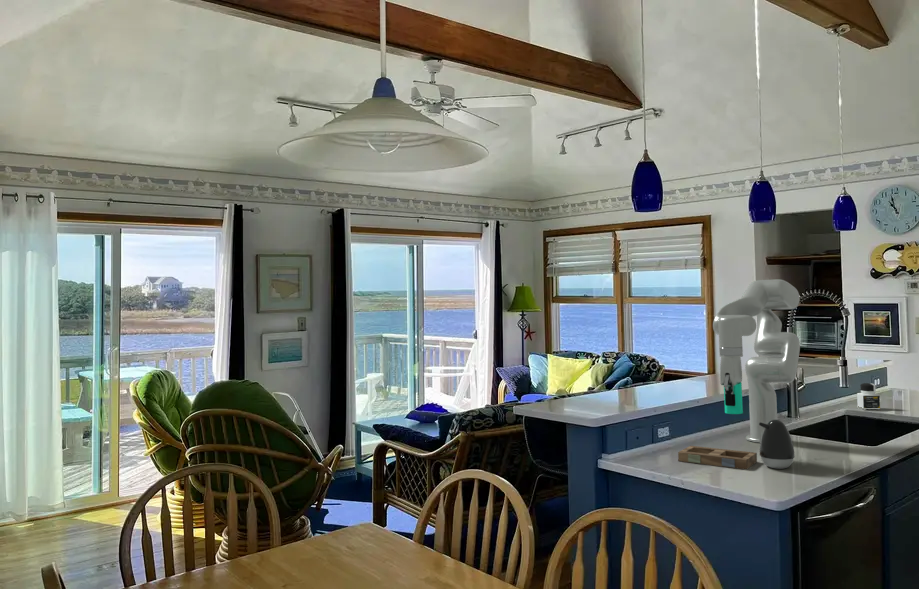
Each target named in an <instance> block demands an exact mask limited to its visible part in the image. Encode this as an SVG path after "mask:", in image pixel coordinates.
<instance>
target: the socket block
mask: <svg viewBox="0 0 919 589" xmlns="http://www.w3.org/2000/svg"><path fill="white" fill-rule="evenodd" d="M757 455H758V454H757V452H754V451H744V450H734V449H725V448H717V447H707V446H697V445H689V446H688V447H685V448H683V449H681V450H679V451H678V452H677V457H678V458H677V459H678V460H677V461H678V462H682V463H683V462H684V463H691V464H699V465H708V466H715V467H723V468H731V469H741V470H748V469H749V468H751V467H752V466H753V465H754V464H756V463H758V456H757Z"/></svg>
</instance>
